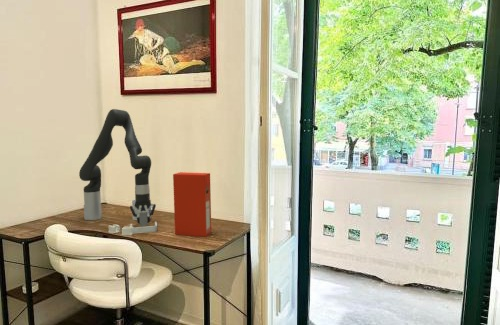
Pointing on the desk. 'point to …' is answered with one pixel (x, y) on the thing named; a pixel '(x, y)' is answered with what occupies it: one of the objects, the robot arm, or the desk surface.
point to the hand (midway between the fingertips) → (143, 223)
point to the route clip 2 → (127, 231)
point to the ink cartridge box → (140, 211)
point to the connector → (143, 219)
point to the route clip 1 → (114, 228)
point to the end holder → (144, 229)
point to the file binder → (192, 204)
